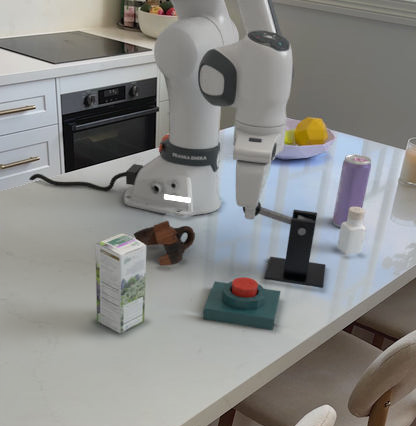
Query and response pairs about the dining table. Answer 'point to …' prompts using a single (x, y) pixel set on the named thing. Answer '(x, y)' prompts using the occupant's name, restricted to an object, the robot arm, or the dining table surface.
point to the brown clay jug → (167, 240)
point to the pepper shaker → (352, 232)
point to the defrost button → (244, 287)
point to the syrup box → (120, 282)
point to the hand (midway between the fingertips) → (251, 212)
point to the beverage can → (351, 186)
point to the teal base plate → (242, 306)
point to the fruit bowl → (306, 138)
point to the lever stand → (298, 255)
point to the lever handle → (274, 214)
